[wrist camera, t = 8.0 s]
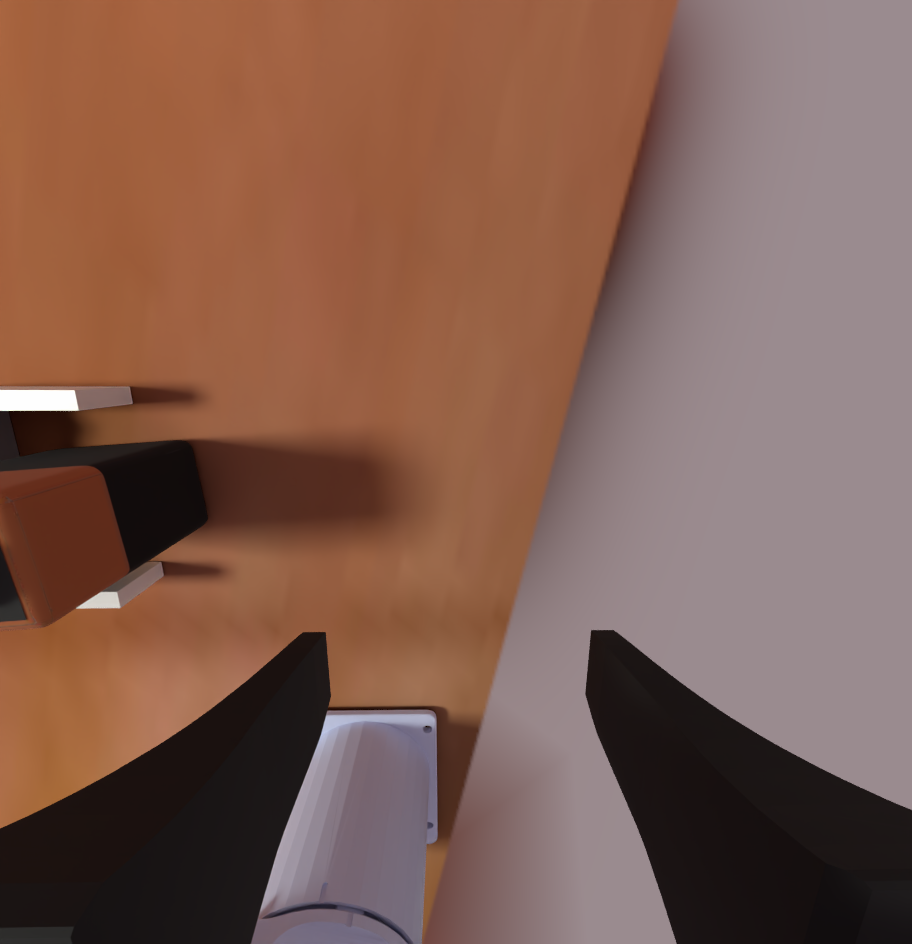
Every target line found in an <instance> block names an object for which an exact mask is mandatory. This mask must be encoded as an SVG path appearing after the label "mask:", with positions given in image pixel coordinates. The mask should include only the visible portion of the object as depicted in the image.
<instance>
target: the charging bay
mask: <svg viewBox="0 0 912 944" xmlns="http://www.w3.org/2000/svg"><path fill="white" fill-rule="evenodd" d="M129 404H133V402H132V396H131V391H130V387H124V386H0V461H3V460H8V459H12V458H17V457H20V456H19V452H18V448H17V444H16V440H15V436H14V432H13V428H12V424H11V420H10V416H9V412H8V411H80V410H89V409H97V408H105V407H113V406H121V405H129ZM163 576H164V574H163V568H162V563H161V562H146V563H144V564H143V565H141V566H140V567H138V568H137V569H135V570H134V571H132V572H131V573H129V574H128V575H126V576H124V577H123V578H121V579H120V580H118V581H117V582H115V583H114V584H112V585H111V586H109V587H108V588H106V589H105V590H103V591H101V592H100V593H98V594H97V595H95V596H94V597H92V598H91V599H89V600H88V601H86V602H85V603H83V604H81V605H80V606H78V607H77V608H121V607H123V606H124V605H125V604H127V603H128V602H129V601H131V600H132V599H133V598H135V597H136V596H137V595H139V594H140V593H141V592H143V591H144V590H146V589H147V588H148V587H150V586H151V585H152V584H154V583H155V582H156V581H158V580H159V579H160V578H162V577H163Z"/></svg>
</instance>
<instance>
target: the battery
mask: <svg viewBox="0 0 912 944" xmlns="http://www.w3.org/2000/svg"><path fill="white" fill-rule="evenodd" d="M207 520H208V517H207V512H206V507H205V503H204V498H203V494H202V489H201V485H200V481H199V476H198V472H197V467H196V463H195V459H194V454H193V450H192V447H191V445H190V444H189V443H188V442H186V441H182V440H174V441H159V442H146V443H132V444H119V445H105V446H91V447H78V448H65V449H56V450H50V451H45V452H40V453H36V454H31V455H26V456H22V457H17V458H12V459H8V460H3V461H0V631H9V630H23V629H35V628H42V627H46V626H48V625H50V624H52V623H54V622H55V621H57V620H58V619H60V618H62V617H63V616H65V615H66V614H68V613H69V612H71V611H72V610H74V609H75V608H77V607H78V606H80V605H81V604H83V603H85V602H86V601H88V600H89V599H91V598H92V597H94V596H95V595H97V594H98V593H100V592H101V591H103V590H105V589H106V588H108V587H109V586H111V585H112V584H114V583H115V582H117V581H118V580H120V579H121V578H123V577H124V576H126V575H128V574H129V573H131V572H132V571H134V570H135V569H137V568H138V567H140V566H141V565H143V564H144V563H146V562H148V561H149V560H151V559H152V558H154V557H155V556H157V555H158V554H160V553H161V552H163V551H164V550H166V549H168V548H169V547H171V546H172V545H174V544H175V543H177V542H178V541H180V540H181V539H183V538H184V537H186V536H187V535H189V534H191V533H192V532H194V531H195V530H197V529H198V528H200V527H201V526H203V525H204V524H205V523H206V522H207Z"/></svg>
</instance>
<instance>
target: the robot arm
mask: <svg viewBox="0 0 912 944" xmlns="http://www.w3.org/2000/svg"><path fill="white" fill-rule="evenodd" d="M330 698H331V692H330V680H329V668H328V656H327V643H326V632H303V633H302V634H300V635H299V636H298V637H297V638H296V639H295V640H293V641H292V642H291V643H290V644H289V645H288V646H287V647H285V648H284V649H283V650H282V651H281V652H280V653H279V654H278V655H276V656H275V657H274V658H273V659H272V660H271V661H270V662H268V663H267V664H266V665H265V666H264V667H263V668H261V669H260V670H259V671H258V672H257V673H256V674H254V675H253V676H252V677H251V678H250V679H249V680H247V681H246V682H245V683H244V684H242V685H241V686H240V687H239V688H237V689H236V690H235V691H234V692H232V693H231V694H230V695H228V696H227V697H226V698H225V699H223V700H222V701H221V702H220V703H218V704H217V705H216V706H214V707H213V708H212V709H211V710H209V711H208V712H206V713H205V714H204V715H202V716H201V717H200V718H198V719H197V720H195V721H194V722H193V723H191V724H190V725H188V726H187V727H185V728H184V729H182V730H181V731H179V732H178V733H176V734H175V735H173V736H172V737H170V738H169V739H167V740H166V741H164V742H163V743H161V744H160V745H158V746H156V747H155V748H153V749H151V750H150V751H148V752H146V753H145V754H143V755H141V756H139V757H138V758H136V759H134V760H133V761H131V762H129V763H128V764H126V765H124V766H123V767H121V768H119V769H118V770H116V771H114V772H113V773H111V774H109V775H107V776H105V777H104V778H102V779H100V780H98V781H96V782H94V783H92V784H91V785H89V786H87V787H85V788H83V789H81V790H79V791H77V792H76V793H74V794H72V795H70V796H68V797H66V798H64V799H62V800H60V801H58V802H56V803H54V804H52V805H50V806H48V807H46V808H44V809H42V810H40V811H38V812H36V813H33V814H31V815H29V816H27V817H25V818H23V819H21V820H18V821H16V822H14V823H12V824H10V825H7V826H5V827H3V828H1V829H0V944H422V926H423V905H424V884H425V863H426V844H431V843H434V842H435V841H436V840H437V837H438V816H437V718H436V714H435V713H434V712H433V711H431V710H345V711H327V710H328V706H329V702H330ZM586 698H587V701H588V705H589V708H590V712H591V715H592V719H593V722H594V725H595V728H596V731H597V734H598V736H599V739H600V741H601V744H602V746H603V749H604V751H605V753H606V755H607V758H608V760H609V763H610V765H611V767H612V770H613V772H614V774H615V777H616V779H617V781H618V783H619V786H620V788H621V790H622V793H623V795H624V797H625V800H626V802H627V804H628V807H629V809H630V811H631V814H632V816H633V818H634V821H635V823H636V825H637V828H638V830H639V833H640V835H641V838H642V841H643V843H644V846H645V848H646V851H647V854H648V857H649V860H650V863H651V866H652V869H653V872H654V875H655V878H656V881H657V884H658V887H659V890H660V893H661V896H662V899H663V902H664V905H665V908H666V911H667V915H668V918H669V921H670V924H671V927H672V930H673V934H674V936H675V939H676V943H677V944H912V810H910V809H908V808H905V807H903V806H900V805H898V804H896V803H893V802H891V801H889V800H886V799H884V798H882V797H880V796H877V795H875V794H873V793H871V792H869V791H867V790H865V789H862V788H860V787H858V786H856V785H854V784H852V783H849V782H847V781H845V780H843V779H841V778H839V777H837V776H835V775H833V774H831V773H829V772H827V771H825V770H823V769H820V768H819V767H817V766H815V765H813V764H811V763H809V762H807V761H805V760H804V759H802V758H800V757H798V756H796V755H794V754H792V753H790V752H788V751H787V750H785V749H783V748H781V747H779V746H777V745H775V744H774V743H772V742H770V741H769V740H767V739H765V738H763V737H762V736H760V735H758V734H757V733H755V732H753V731H752V730H750V729H749V728H747V727H745V726H744V725H742V724H740V723H739V722H737V721H736V720H734V719H732V718H730V717H729V716H728V715H726V714H724V713H723V712H722V711H720V710H719V709H717V708H716V707H714V706H713V705H711V704H710V703H708V702H707V701H706V700H704V699H703V698H701V697H700V696H698V695H697V694H696V693H694V692H693V691H691V690H690V689H689V688H687V687H686V686H685V685H683V684H682V683H680V682H679V681H678V680H677V679H675V678H674V677H673V676H671V675H670V674H669V673H667V672H666V671H665V670H664V669H662V668H661V667H660V666H658V665H657V664H656V663H654V662H653V661H652V660H651V659H650V658H648V657H647V656H646V655H644V654H643V653H642V652H641V651H639V650H638V649H637V648H636V647H635V646H633V645H632V644H631V643H630V642H628V641H627V640H626V639H624V638H623V637H622V636H621V635H619V634H618V633H617V632H615V631H614V630H592V631H591V638H590V650H589V660H588V672H587V682H586ZM425 726H430V727H425Z"/></svg>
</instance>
